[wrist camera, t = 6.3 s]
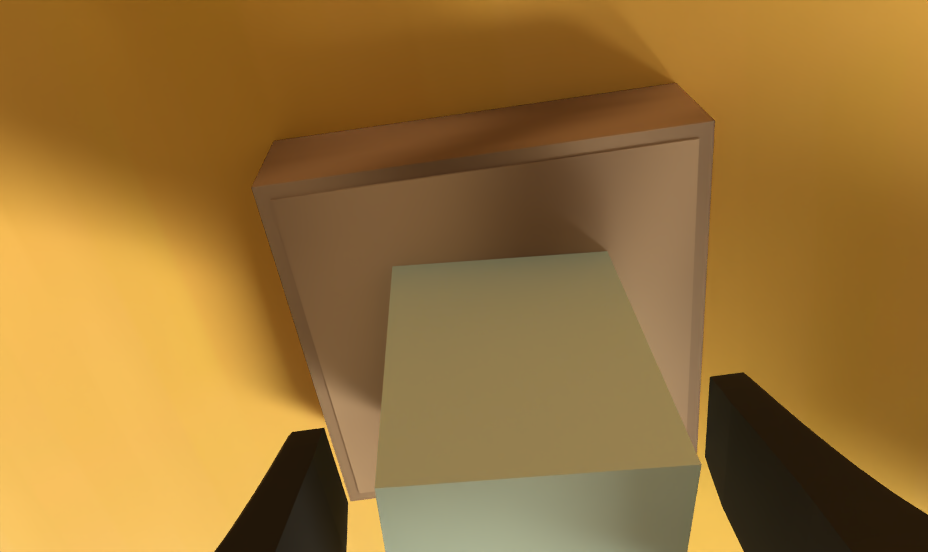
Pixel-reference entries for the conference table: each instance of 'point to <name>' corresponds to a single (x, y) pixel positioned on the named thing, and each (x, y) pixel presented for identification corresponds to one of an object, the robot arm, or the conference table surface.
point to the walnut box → (488, 229)
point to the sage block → (527, 414)
